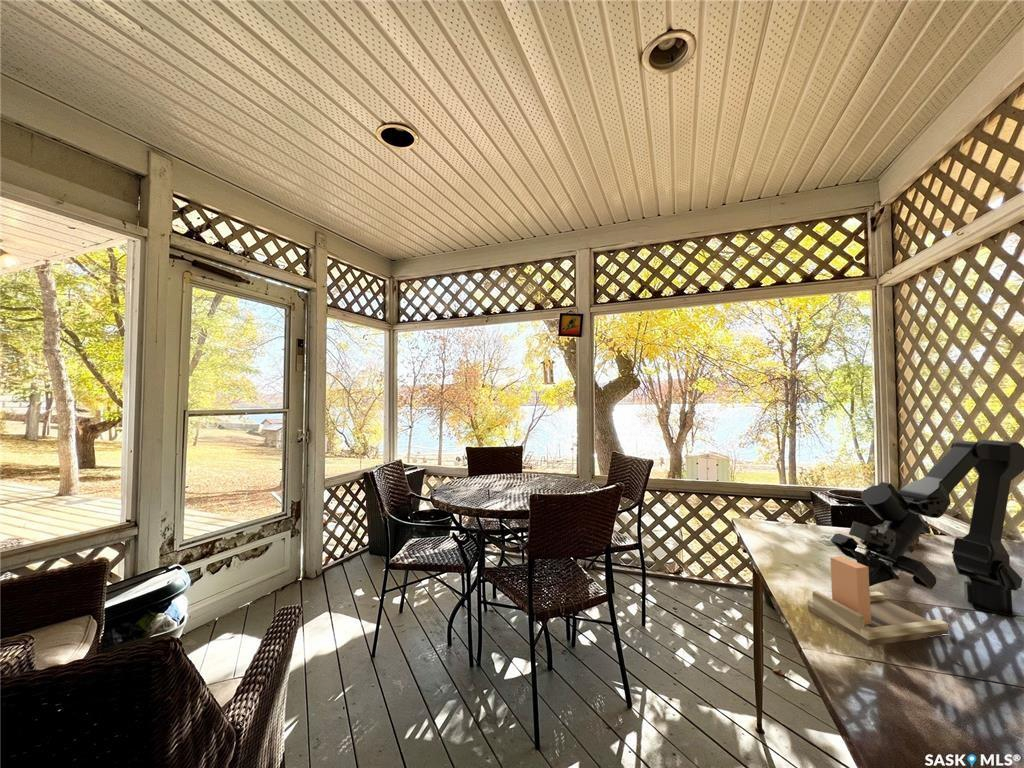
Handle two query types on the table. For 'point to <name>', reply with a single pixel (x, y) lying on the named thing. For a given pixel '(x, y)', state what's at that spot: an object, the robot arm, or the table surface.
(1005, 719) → the table surface
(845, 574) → the tall block
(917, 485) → the robot arm
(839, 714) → the table surface
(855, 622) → the open-ended rail tray
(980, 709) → the table surface
